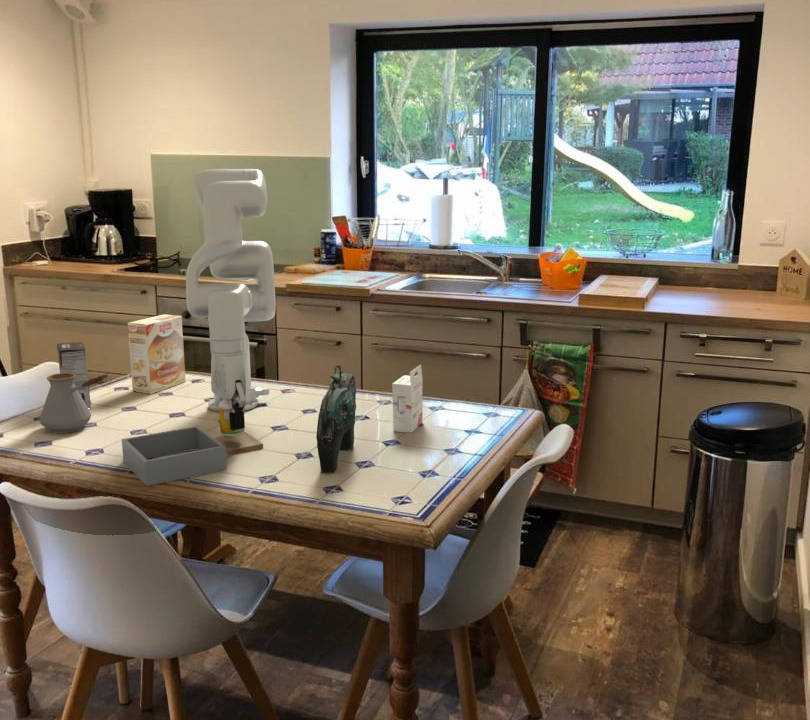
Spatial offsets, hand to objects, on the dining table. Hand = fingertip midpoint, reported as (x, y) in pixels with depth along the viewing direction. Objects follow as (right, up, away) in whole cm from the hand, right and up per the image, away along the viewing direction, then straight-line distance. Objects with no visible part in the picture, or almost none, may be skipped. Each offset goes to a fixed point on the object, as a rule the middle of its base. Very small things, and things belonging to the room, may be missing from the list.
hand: (232, 424), depth 188 cm
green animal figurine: (+24, -7, -7) cm, 26 cm away
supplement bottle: (0, -2, +1) cm, 2 cm away
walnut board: (0, -5, +1) cm, 5 cm away
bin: (-10, -8, -11) cm, 17 cm away
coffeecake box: (-31, +7, +51) cm, 60 cm away
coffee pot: (-38, -3, +12) cm, 40 cm away
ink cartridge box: (+39, -2, +14) cm, 42 cm away
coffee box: (-47, +2, +33) cm, 58 cm away
